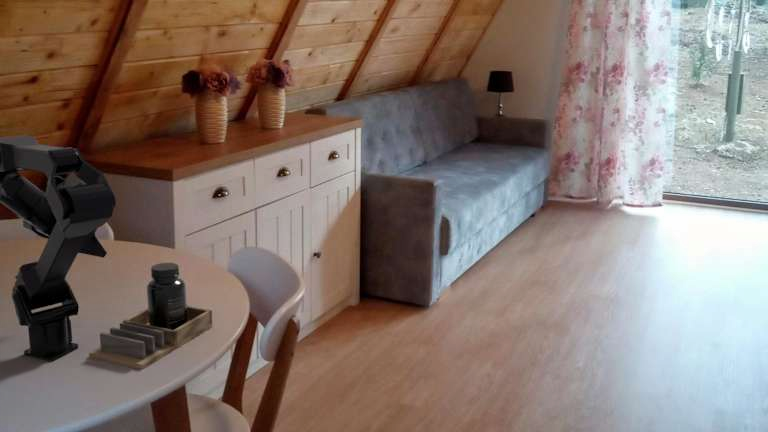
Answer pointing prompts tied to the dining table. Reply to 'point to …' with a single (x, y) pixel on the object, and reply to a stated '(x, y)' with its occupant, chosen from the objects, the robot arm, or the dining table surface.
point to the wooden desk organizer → (149, 338)
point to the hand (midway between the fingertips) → (92, 249)
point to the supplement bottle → (166, 297)
